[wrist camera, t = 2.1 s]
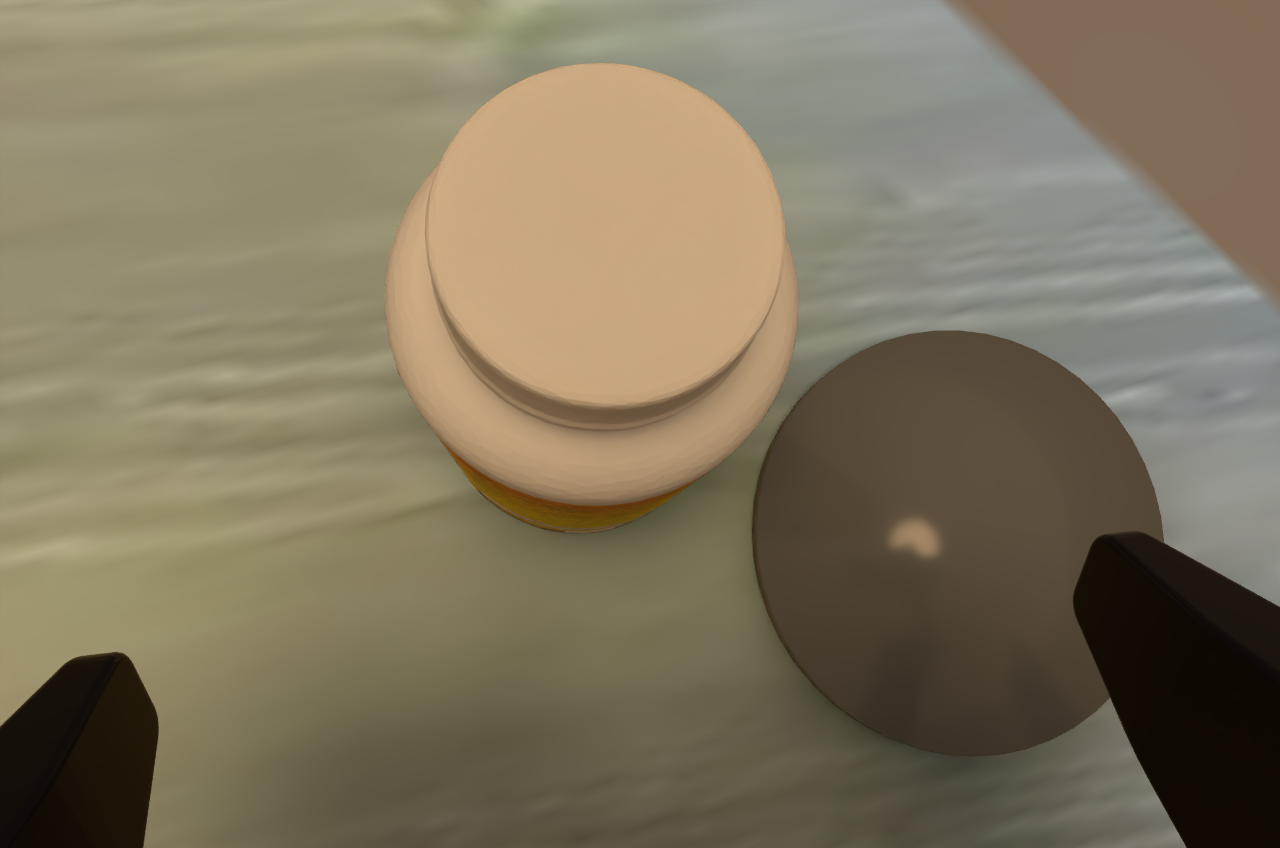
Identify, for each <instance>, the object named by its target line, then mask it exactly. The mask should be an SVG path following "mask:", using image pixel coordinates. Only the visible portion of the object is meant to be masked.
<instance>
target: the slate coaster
mask: <svg viewBox="0 0 1280 848" xmlns="http://www.w3.org/2000/svg"><path fill="white" fill-rule="evenodd" d="M1126 531H1140V532H1144V533H1146V534H1148V535H1150V536H1152V537H1154V538H1156V539H1157V540H1159V541H1161V542H1163V543H1164V538H1163V530H1162V521H1161V515H1160V511H1159V506H1158V502H1157V498H1156V494H1155V490H1154V487H1153V485H1152V482H1151V479H1150V477H1149V474H1148V471H1147V469H1146V466H1145V463H1144V461H1143V460H1142V458H1141V456H1140V454H1139V452H1138V450H1137V448H1136V446H1135V444H1134V442H1133V440H1132V439H1131V437H1130V436H1129V434H1128V433H1127V431H1126V430H1125V428H1124V427H1123V425H1122V424H1121V422H1120V421H1119V419H1118V418H1117V416H1116V415H1115V414H1114V413H1113V412H1112V411H1111V409H1110V408H1109V407H1108V406H1107V405H1106V404H1105V402H1104V401H1103V400H1102V399H1101V398H1100V397H1099V396H1098V395H1097V394H1096V393H1095V392H1094V391H1093V390H1092V389H1091V388H1090V387H1088V386H1087V385H1086V384H1085V383H1084V382H1083V381H1082V380H1081V379H1080V378H1078V377H1077V376H1076V375H1074V374H1073V373H1071V372H1070V371H1069V370H1067V369H1066V368H1065V367H1063V366H1062V365H1060V364H1059V363H1057V362H1056V361H1054V360H1052V359H1050V358H1048V357H1047V356H1045V355H1043V354H1041V353H1039V352H1037V351H1036V350H1033V349H1031V348H1028V347H1026V346H1023V345H1021V344H1018V343H1016V342H1013V341H1011V340H1007V339H1003V338H999V337H996V336H992V335H988V334H982V333H974V332H966V331H929V332H922V333H915V334H909V335H905V336H901V337H898V338H894V339H891V340H887V341H884V342H882V343H879V344H877V345H875V346H873V347H870V348H868V349H866V350H863V351H861V352H860V353H858V354H856V355H855V356H853V357H851V358H850V359H848V360H846V361H845V362H843V363H842V364H840V365H838V366H837V367H836V368H834V369H833V370H832V371H830V372H829V373H828V374H827V375H826V376H824V377H823V378H822V379H821V380H820V381H818V382H817V383H816V384H815V385H813V386H812V387H811V389H810V390H809V391H808V392H807V393H806V394H805V395H804V396H803V397H802V398H801V399H800V400H799V402H798V403H797V404H796V405H795V406H794V408H793V409H792V411H791V412H790V413H789V415H788V416H787V418H786V419H785V421H784V422H783V424H782V425H781V426H780V428H779V430H778V432H777V434H776V436H775V438H774V440H773V442H772V444H771V446H770V448H769V450H768V453H767V456H766V459H765V462H764V464H763V467H762V470H761V473H760V477H759V481H758V486H757V491H756V496H755V501H754V512H753V525H752V534H753V553H754V561H755V566H756V572H757V577H758V583H759V587H760V590H761V593H762V596H763V599H764V603H765V606H766V609H767V612H768V614H769V616H770V618H771V621H772V623H773V625H774V627H775V629H776V631H777V634H778V636H779V638H780V639H781V641H782V643H783V644H784V646H785V647H786V649H787V651H788V652H789V654H790V655H791V657H792V659H793V660H794V662H795V663H796V664H797V666H798V667H799V668H800V669H801V670H802V672H803V673H804V674H805V675H806V677H807V678H808V679H809V680H810V681H811V683H812V684H813V685H814V686H815V687H816V688H817V689H818V690H819V691H821V692H822V693H823V694H824V695H825V696H826V697H827V698H828V699H829V700H830V701H831V702H832V703H833V704H835V705H836V706H837V707H839V708H840V709H841V710H843V711H844V712H846V713H847V714H848V715H850V716H851V717H852V718H854V719H855V720H857V721H859V722H860V723H862V724H864V725H866V726H868V727H870V728H871V729H873V730H875V731H877V732H879V733H881V734H883V735H885V736H887V737H889V738H892V739H895V740H897V741H900V742H903V743H905V744H908V745H911V746H913V747H916V748H920V749H924V750H929V751H933V752H938V753H942V754H951V755H963V756H983V755H999V754H1004V753H1009V752H1014V751H1019V750H1024V749H1027V748H1030V747H1033V746H1035V745H1038V744H1041V743H1044V742H1047V741H1049V740H1052V739H1053V738H1055V737H1057V736H1059V735H1061V734H1063V733H1065V732H1067V731H1068V730H1070V729H1072V728H1074V727H1075V726H1077V725H1078V724H1079V723H1081V722H1082V721H1084V720H1085V719H1086V718H1088V717H1089V716H1090V715H1092V714H1093V713H1094V712H1096V711H1097V710H1098V709H1099V708H1100V707H1101V706H1102V705H1103V704H1104V703H1105V702H1106V701H1107V700H1108V699H1109V698H1110V696H1109V693H1108V691H1107V689H1106V687H1105V684H1104V682H1103V680H1102V677H1101V675H1100V673H1099V670H1098V668H1097V666H1096V663H1095V661H1094V659H1093V656H1092V654H1091V652H1090V649H1089V647H1088V645H1087V642H1086V640H1085V638H1084V635H1083V633H1082V631H1081V628H1080V626H1079V624H1078V621H1077V619H1076V616H1075V613H1074V608H1073V593H1074V589H1075V586H1076V584H1077V581H1078V578H1079V576H1080V573H1081V570H1082V568H1083V565H1084V562H1085V560H1086V557H1087V554H1088V552H1089V549H1090V546H1091V544H1092V542H1093V541H1094V540H1095V539H1096V538H1097V537H1098V536H1100V535H1103V534H1109V533H1118V532H1126Z"/></svg>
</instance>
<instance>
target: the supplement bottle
mask: <svg viewBox="0 0 1280 848" xmlns="http://www.w3.org/2000/svg"><path fill="white" fill-rule="evenodd" d="M385 319H386V325H387V331H388V337H389V342H390V346H391V350H392V353H393V356H394V360H395V363H396V366H397V370H398V373H399V375H400V377H401V379H402V381H403V383H404V385H405V387H406V389H407V391H408V393H409V395H410V397H411V399H412V401H413V402H414V404H415V405H416V407H417V408H418V410H419V412H420V413H421V415H422V416H423V418H424V419H425V420H426V422H427V423H428V424H429V426H430V427H431V428H432V430H433V431H434V432H435V434H436V435H437V437H438V438H439V439H440V441H441V442H442V443H443V445H444V446H445V447H446V449H447V450H448V452H449V453H450V455H451V456H452V457H453V459H454V460H455V461H456V463H457V464H458V465H459V467H460V468H461V469H462V471H463V472H464V474H465V475H466V476H467V478H468V479H469V480H470V482H471V483H472V484H473V486H474V487H475V488H476V489H477V490H478V491H479V492H480V493H481V494H482V495H483V496H484V497H485V498H486V499H487V500H489V501H490V502H491V503H492V504H494V505H495V506H496V507H498V508H499V509H501V510H502V511H504V512H505V513H507V514H509V515H511V516H513V517H514V518H516V519H518V520H521V521H523V522H525V523H528V524H530V525H533V526H535V527H538V528H542V529H545V530H549V531H555V532H562V533H591V532H599V531H604V530H608V529H613V528H616V527H619V526H622V525H625V524H627V523H630V522H632V521H634V520H636V519H638V518H640V517H642V516H644V515H646V514H648V513H650V512H651V511H653V510H654V509H656V508H657V507H659V506H660V505H662V504H664V503H665V502H666V501H668V500H669V499H670V498H672V497H673V496H675V495H676V494H678V493H679V492H681V491H682V490H683V489H685V488H686V487H688V486H689V485H690V484H692V483H693V482H694V481H696V480H697V479H699V478H700V477H702V476H703V475H705V474H706V473H707V472H709V471H710V470H712V469H713V468H714V467H716V466H717V465H719V464H720V463H721V462H723V461H724V460H725V459H726V458H727V457H728V456H729V455H731V454H732V453H733V452H734V451H735V450H736V449H737V448H738V447H739V446H740V445H741V444H742V443H743V442H744V441H745V440H746V439H747V438H748V437H749V435H750V434H751V433H752V432H753V430H754V429H755V428H756V427H757V425H758V424H759V423H760V421H761V420H762V419H763V418H764V416H765V414H766V413H767V411H768V409H769V408H770V406H771V404H772V403H773V401H774V399H775V397H776V396H777V394H778V392H779V390H780V388H781V385H782V383H783V381H784V379H785V376H786V373H787V370H788V368H789V365H790V362H791V358H792V354H793V350H794V346H795V341H796V333H797V325H798V288H797V280H796V273H795V268H794V263H793V258H792V255H791V251H790V248H789V245H788V242H787V239H786V237H785V223H784V218H783V212H782V206H781V201H780V198H779V195H778V191H777V188H776V185H775V182H774V180H773V177H772V174H771V172H770V169H769V168H768V166H767V164H766V162H765V160H764V158H763V157H762V155H761V153H760V151H759V149H758V147H757V146H756V145H755V143H754V142H753V141H752V139H751V138H750V137H749V136H748V134H747V133H746V132H745V130H744V129H743V128H742V127H741V126H740V125H739V124H738V123H737V122H736V121H735V120H734V119H733V118H732V116H731V115H730V114H729V113H728V112H726V111H725V110H724V109H723V108H722V107H720V106H719V105H718V104H717V103H716V102H714V101H713V100H712V99H710V98H709V97H707V96H706V95H704V94H703V93H701V92H700V91H698V90H696V89H694V88H692V87H690V86H689V85H687V84H685V83H683V82H681V81H679V80H677V79H675V78H672V77H669V76H667V75H664V74H661V73H658V72H655V71H652V70H648V69H644V68H639V67H635V66H630V65H622V64H607V63H593V64H579V65H572V66H565V67H559V68H556V69H552V70H549V71H546V72H543V73H539V74H536V75H533V76H530V77H528V78H526V79H524V80H522V81H520V82H518V83H516V84H514V85H512V86H510V87H509V88H507V89H505V90H504V91H502V92H500V93H499V94H498V95H496V96H495V97H494V98H492V99H491V100H490V101H488V102H487V103H486V104H485V105H483V106H482V107H481V108H480V109H479V110H478V111H477V112H476V113H474V114H473V115H472V116H471V118H470V119H469V120H468V121H467V122H466V123H465V124H464V125H463V126H462V128H461V129H460V130H459V132H458V133H457V135H456V136H455V137H454V139H453V140H452V142H451V143H450V145H449V147H448V149H447V150H446V152H445V154H444V156H443V158H442V160H441V162H440V163H439V164H438V165H437V167H436V168H435V169H434V170H433V171H432V172H431V174H430V175H429V176H428V177H427V178H426V180H425V181H424V183H423V184H422V186H421V187H420V188H419V190H418V191H417V193H416V194H415V196H414V197H413V199H412V200H411V202H410V204H409V206H408V208H407V209H406V211H405V214H404V216H403V218H402V220H401V222H400V225H399V227H398V230H397V233H396V235H395V238H394V242H393V245H392V249H391V253H390V257H389V262H388V268H387V274H386V282H385Z"/></svg>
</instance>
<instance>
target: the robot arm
mask: <svg viewBox="0 0 1280 848" xmlns="http://www.w3.org/2000/svg"><path fill="white" fill-rule="evenodd" d="M1073 608H1074V613H1075V616H1076V619H1077V621H1078V624H1079V626H1080V628H1081V631H1082V633H1083V635H1084V638H1085V640H1086V642H1087V645H1088V647H1089V649H1090V652H1091V654H1092V656H1093V659H1094V661H1095V663H1096V666H1097V668H1098V670H1099V673H1100V675H1101V677H1102V680H1103V682H1104V684H1105V687H1106V689H1107V691H1108V693H1109V696H1110V698H1111V700H1112V703H1113V705H1114V707H1115V710H1116V712H1117V714H1118V717H1119V719H1120V721H1121V724H1122V726H1123V728H1124V731H1125V733H1126V735H1127V737H1128V739H1129V742H1130V744H1131V746H1132V748H1133V750H1134V752H1135V754H1136V756H1137V758H1138V760H1139V762H1140V764H1141V766H1142V768H1143V770H1144V772H1145V774H1146V775H1147V777H1148V779H1149V781H1150V783H1151V785H1152V786H1153V788H1154V790H1155V792H1156V794H1157V795H1158V797H1159V799H1160V801H1161V803H1162V804H1163V806H1164V808H1165V810H1166V812H1167V813H1168V815H1169V817H1170V819H1171V821H1172V822H1173V824H1174V826H1175V828H1176V830H1177V831H1178V833H1179V835H1180V837H1181V839H1182V840H1183V842H1184V844H1185V846H1186V848H1280V607H1279V606H1277V605H1275V604H1274V603H1272V602H1270V601H1268V600H1266V599H1265V598H1263V597H1261V596H1259V595H1257V594H1256V593H1254V592H1252V591H1250V590H1248V589H1246V588H1245V587H1243V586H1241V585H1239V584H1237V583H1236V582H1234V581H1232V580H1230V579H1228V578H1226V577H1225V576H1223V575H1221V574H1219V573H1217V572H1216V571H1214V570H1212V569H1210V568H1208V567H1206V566H1205V565H1203V564H1201V563H1199V562H1197V561H1196V560H1194V559H1192V558H1190V557H1188V556H1187V555H1185V554H1183V553H1181V552H1179V551H1177V550H1176V549H1174V548H1172V547H1170V546H1168V545H1167V544H1165V543H1163V542H1161V541H1159V540H1157V539H1156V538H1154V537H1152V536H1150V535H1148V534H1146V533H1144V532H1140V531H1126V532H1118V533H1109V534H1103V535H1100V536H1098V537H1097V538H1096V539H1095V540H1094V541H1093V542H1092V544H1091V546H1090V549H1089V552H1088V554H1087V557H1086V560H1085V562H1084V565H1083V568H1082V570H1081V573H1080V576H1079V578H1078V581H1077V584H1076V586H1075V589H1074V593H1073ZM158 734H159V725H158V717H157V713H156V710H155V707H154V705H153V703H152V701H151V699H150V697H149V695H148V693H147V691H146V689H145V687H144V685H143V683H142V681H141V679H140V677H139V675H138V673H137V671H136V669H135V667H134V665H133V663H132V661H131V660H130V658H129V657H128V656H126V655H125V654H123V653H119V652H112V653H103V654H95V655H87V656H79V657H76V658H73V659H71V660H70V661H68V662H67V663H65V664H64V665H63V666H62V667H61V668H60V669H59V670H58V671H57V672H56V673H55V674H54V675H53V676H52V677H51V678H50V679H49V680H48V681H46V682H45V683H44V684H43V685H42V686H41V687H40V688H39V689H38V690H37V691H36V692H35V693H34V694H33V695H32V696H31V697H30V698H29V699H28V700H27V701H26V702H25V703H24V704H23V705H22V706H21V707H20V708H19V709H18V710H17V711H16V712H15V713H14V714H13V715H12V716H11V717H9V718H8V719H7V720H6V721H5V722H4V723H3V724H2V725H1V726H0V848H143V845H144V838H145V831H146V823H147V816H148V809H149V801H150V794H151V787H152V780H153V772H154V765H155V758H156V750H157V743H158Z"/></svg>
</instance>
